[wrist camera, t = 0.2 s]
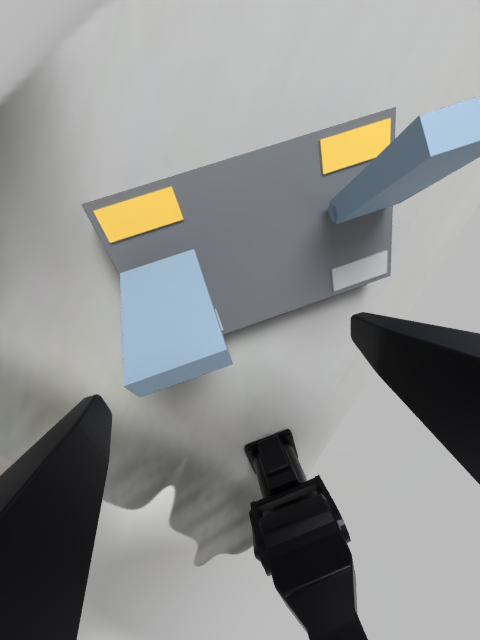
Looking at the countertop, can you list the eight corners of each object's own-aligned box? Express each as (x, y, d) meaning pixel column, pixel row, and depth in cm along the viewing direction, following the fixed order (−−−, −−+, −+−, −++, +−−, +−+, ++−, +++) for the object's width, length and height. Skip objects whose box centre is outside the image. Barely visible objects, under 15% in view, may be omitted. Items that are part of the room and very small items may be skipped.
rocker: (198, 261, 18) (232, 363, 13) (131, 284, 18) (139, 397, 13) (192, 243, 17) (226, 349, 12) (119, 267, 16) (123, 386, 11)
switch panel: (368, 266, 25) (392, 276, 22) (164, 337, 24) (162, 357, 21) (366, 118, 19) (398, 105, 16) (95, 202, 18) (80, 204, 15)
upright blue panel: (394, 206, 19) (542, 120, 10) (332, 227, 18) (430, 156, 10) (388, 185, 18) (533, 79, 10) (325, 205, 18) (419, 115, 10)
